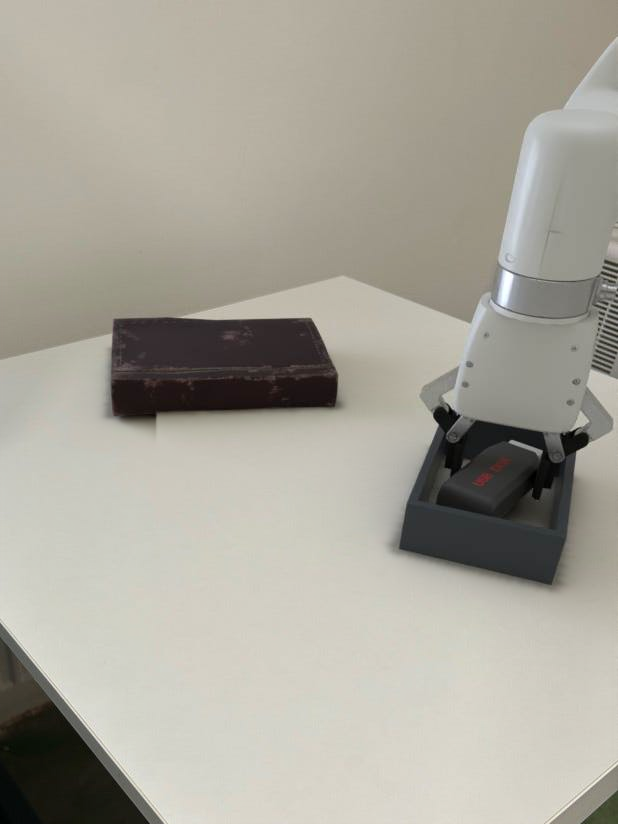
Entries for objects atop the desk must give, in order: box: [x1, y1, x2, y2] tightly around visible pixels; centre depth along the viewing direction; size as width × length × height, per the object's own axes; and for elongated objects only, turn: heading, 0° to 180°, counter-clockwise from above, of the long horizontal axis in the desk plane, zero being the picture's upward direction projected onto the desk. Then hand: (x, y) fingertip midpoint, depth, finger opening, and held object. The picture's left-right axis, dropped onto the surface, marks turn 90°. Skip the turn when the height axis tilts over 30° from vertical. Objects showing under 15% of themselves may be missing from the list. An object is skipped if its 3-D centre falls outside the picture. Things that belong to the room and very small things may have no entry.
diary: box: [110, 316, 339, 417], centre depth 98 cm, size 19×25×5 cm
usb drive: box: [435, 440, 543, 519], centre depth 74 cm, size 5×12×3 cm, turn 138°
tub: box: [398, 409, 578, 586], centre depth 75 cm, size 19×13×6 cm
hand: (495, 482), depth 75 cm, fingers closed on usb drive, 6 cm apart
